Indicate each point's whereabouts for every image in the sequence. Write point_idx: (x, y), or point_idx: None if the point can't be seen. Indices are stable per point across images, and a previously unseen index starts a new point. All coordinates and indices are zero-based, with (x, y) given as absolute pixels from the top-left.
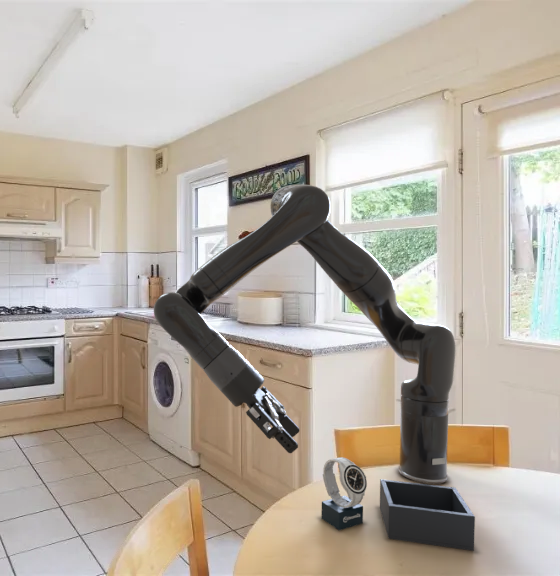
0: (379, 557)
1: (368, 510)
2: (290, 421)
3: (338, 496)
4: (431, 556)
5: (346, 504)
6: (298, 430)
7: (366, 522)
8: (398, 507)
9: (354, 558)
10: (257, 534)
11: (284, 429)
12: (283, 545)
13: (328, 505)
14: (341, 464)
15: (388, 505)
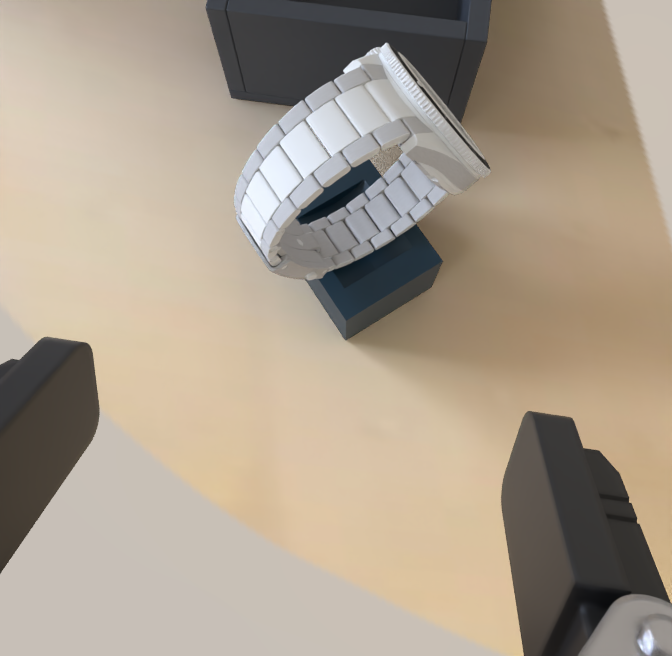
0: (587, 187)
1: (251, 142)
2: (15, 428)
3: (319, 234)
4: (542, 31)
5: (381, 215)
6: (86, 353)
7: None
8: (488, 11)
9: (615, 271)
10: None
11: (583, 576)
12: None
13: (381, 296)
14: (416, 133)
15: (470, 44)
